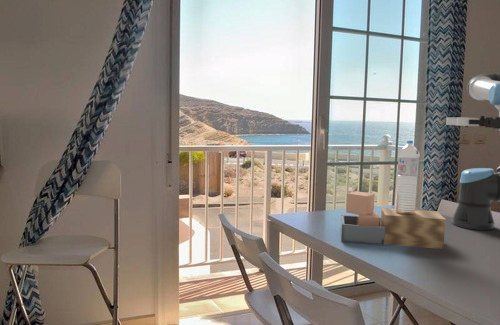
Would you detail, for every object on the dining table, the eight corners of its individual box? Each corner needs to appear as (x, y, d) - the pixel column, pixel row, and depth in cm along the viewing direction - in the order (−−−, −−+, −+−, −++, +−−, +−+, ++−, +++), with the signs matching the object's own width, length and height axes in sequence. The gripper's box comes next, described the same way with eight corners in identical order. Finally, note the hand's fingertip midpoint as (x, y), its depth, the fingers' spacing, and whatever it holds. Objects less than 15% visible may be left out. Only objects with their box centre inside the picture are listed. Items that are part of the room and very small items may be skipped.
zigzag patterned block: (435, 238, 152) (437, 211, 151) (443, 249, 140) (445, 219, 139) (379, 234, 155) (381, 207, 154) (383, 244, 144) (385, 215, 143)
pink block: (377, 213, 154) (357, 211, 155) (379, 217, 147) (358, 216, 148) (376, 233, 155) (356, 231, 156) (378, 238, 148) (357, 237, 149)
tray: (379, 233, 157) (380, 217, 156) (383, 245, 142) (385, 227, 142) (340, 230, 159) (341, 214, 159) (341, 241, 145) (342, 224, 144)
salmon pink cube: (373, 212, 154) (374, 193, 154) (365, 215, 149) (367, 196, 148) (354, 209, 159) (355, 191, 158) (346, 212, 153) (347, 193, 153)
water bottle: (417, 215, 143) (422, 141, 140) (395, 214, 144) (400, 140, 142) (413, 211, 150) (418, 140, 147) (393, 209, 151) (398, 139, 148)
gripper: (536, 136, 129) (461, 133, 133) (504, 133, 153) (441, 131, 157) (539, 111, 128) (463, 109, 132) (506, 112, 152) (443, 110, 157)
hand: (451, 121), depth 145 cm, fingers open, 13 cm apart
